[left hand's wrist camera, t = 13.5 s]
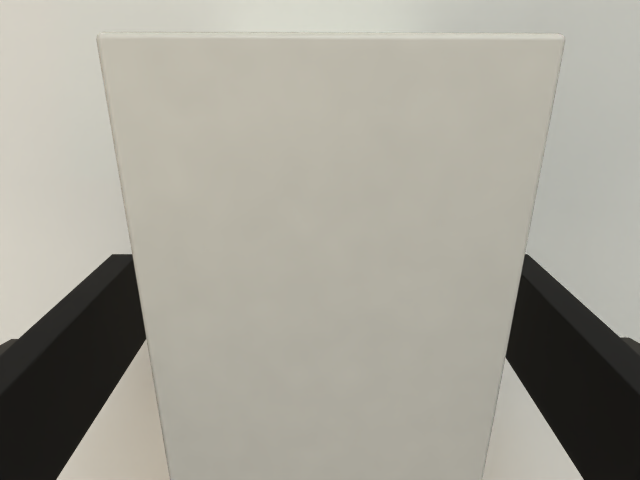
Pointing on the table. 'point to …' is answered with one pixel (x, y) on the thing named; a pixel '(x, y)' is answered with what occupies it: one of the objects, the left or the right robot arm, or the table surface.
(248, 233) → the beam
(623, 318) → the table surface
